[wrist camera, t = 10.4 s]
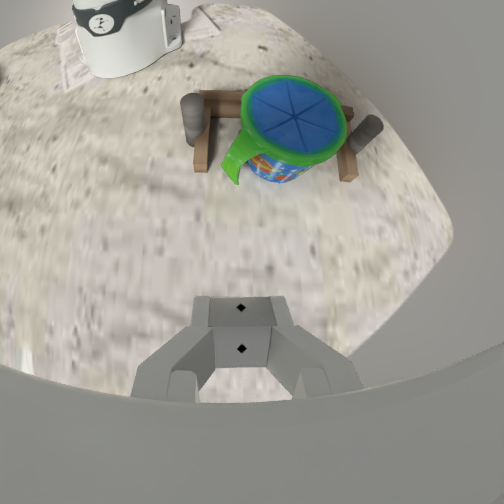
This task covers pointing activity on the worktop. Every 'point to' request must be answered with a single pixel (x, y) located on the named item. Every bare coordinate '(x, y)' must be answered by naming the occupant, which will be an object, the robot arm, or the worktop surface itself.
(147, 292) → the worktop surface
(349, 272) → the worktop surface
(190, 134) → the cradle
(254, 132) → the snack cup
